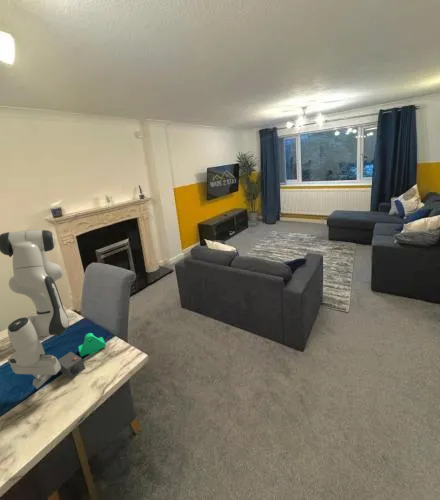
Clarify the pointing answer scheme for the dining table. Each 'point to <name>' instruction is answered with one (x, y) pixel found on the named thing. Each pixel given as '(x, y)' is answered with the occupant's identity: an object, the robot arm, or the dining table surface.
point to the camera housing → (71, 365)
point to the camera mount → (91, 344)
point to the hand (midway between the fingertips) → (42, 379)
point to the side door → (39, 383)
